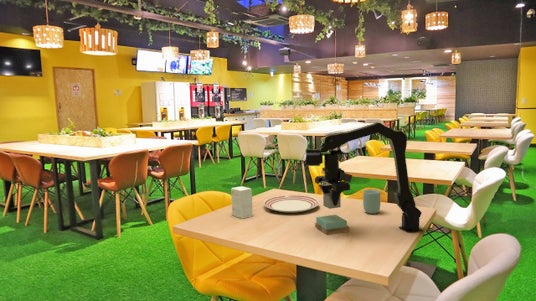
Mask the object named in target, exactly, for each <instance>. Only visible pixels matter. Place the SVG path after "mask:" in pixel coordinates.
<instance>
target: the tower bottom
mask: <svg viewBox="0 0 536 301" xmlns="http://www.w3.org/2000/svg"><path fill="white" fill-rule="evenodd" d="M314 228H315V229H317V230H318V231H320V232H322V233H323V234H325V235H335V234H341V233H346V232H350V226H348V225H347V227H342V228H335V229H328V230H326V229H324V228H323V227H321V226H320V225H319V224H317V223H316V222H314Z"/></svg>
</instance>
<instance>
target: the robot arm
mask: <svg viewBox="0 0 536 301" xmlns="http://www.w3.org/2000/svg"><path fill="white" fill-rule="evenodd" d="M375 134H379V135H380V136H383V137H385V138H387V140H388V144H389V146H390V150H391V151H392V154H393V159H394V167H395V174H396V180H397V182H396V183H397V192H393V196H394V203H395V204H396V206H397V207H398V208H399V209H400V210H401V214H402V215H401V226H398V229H400V230H402V231H405V232H407V233H415V232H421V231H423V228H420V217H421V216H422V211H421V210H420V209H419V208H418V207H417V206H416V202H415V199H414V196H413V194H412V191H411V188H410V182H409V173H408V166H407V159H406V150H407V146H408V145H407V144H408V137H407V134H406V133H405V132H404V131H401V130H398V129H392V128H390V127H388V126H386V125H384V124H383V123H381V122H378V121H376V122H373V123H371V124H368V125H365V126H361V127H359V128H354V129H351V130H348V131H343V132H334V133H328V134H326V135H325V136H324V138H323V143H322V144H321V146H320V147H319V148H314V149H313V148H306V149H305V166H306V167H321V165H322V164H323V163H324V165H323V166H324V167H322V168H321V170H322V172H323V171H324V174H323V175H316V177H314V184H317V185H318V187H319V188H320V191H321V192H322V195H323V194H325V193H330V194H331V198H332V201H333V204H334V206H336V205H337V203H338V200H339V197H340V195H342V193H343V192H345V191H351V184H350V183H351V182H352V179H353V174H350V173H346V172H345V170H344V169H342V168H340V158H339V157H340V156H341V155H342V156H344V151H343V150H341V148H340V147H342V146H344V145H345V144H347V143H349V142H351V141H352V142H353V141H355V140H359V139H362V138H366V137H368V136H371V135H375ZM328 151H329V152H328Z"/></svg>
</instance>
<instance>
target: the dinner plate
mask: <svg viewBox="0 0 536 301" xmlns="http://www.w3.org/2000/svg"><path fill="white" fill-rule="evenodd" d="M319 205H320V200H318V199H317V198H315V197H313V196H309V195H301V194H285V195H277V196H273V197H270V198H267V199H265V200H264V201H263V206H264V207H265V208H268V209H270V210H272V211H276V212H279V213H283V214H284V213H286V214H289V213H290V214H292V213H293V214H294V213H296V214H297V213H303V212H306V211H310V210H312V209H314V208H316V207H318V206H319Z"/></svg>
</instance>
